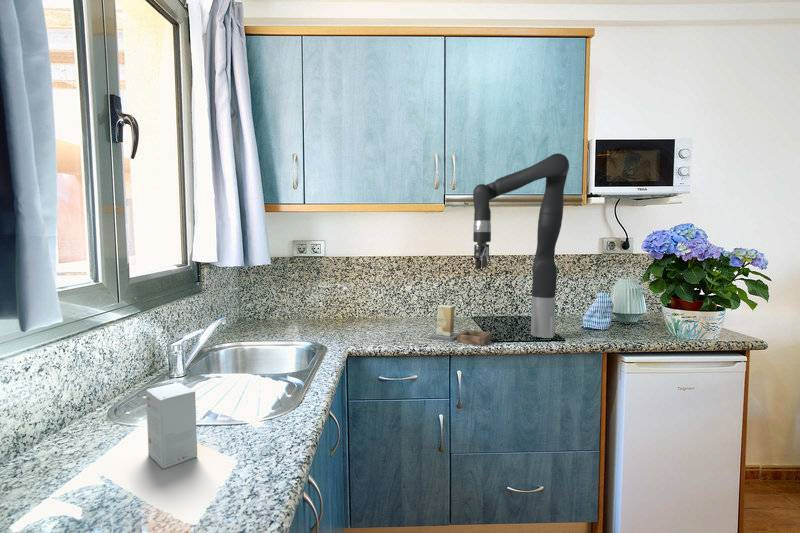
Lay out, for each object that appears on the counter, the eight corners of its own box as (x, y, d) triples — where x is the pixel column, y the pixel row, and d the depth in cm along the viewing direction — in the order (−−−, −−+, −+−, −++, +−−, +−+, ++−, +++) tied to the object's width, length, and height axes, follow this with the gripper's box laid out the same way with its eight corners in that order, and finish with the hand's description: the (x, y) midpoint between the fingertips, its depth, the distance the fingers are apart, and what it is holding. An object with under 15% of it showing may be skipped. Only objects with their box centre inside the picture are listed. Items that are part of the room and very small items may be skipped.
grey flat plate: (460, 335, 184) (460, 333, 184) (452, 341, 175) (452, 338, 175) (438, 333, 189) (438, 331, 189) (429, 338, 180) (429, 335, 180)
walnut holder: (491, 339, 177) (491, 332, 177) (483, 345, 168) (483, 338, 167) (465, 336, 182) (466, 329, 182) (456, 342, 173) (457, 335, 172)
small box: (198, 457, 84) (196, 391, 83) (162, 470, 79) (159, 400, 78) (181, 443, 89) (179, 381, 88) (147, 454, 85) (144, 389, 84)
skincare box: (436, 334, 181) (436, 305, 180) (440, 332, 185) (440, 304, 184) (450, 336, 178) (451, 307, 177) (454, 334, 182) (454, 305, 181)
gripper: (485, 231, 181) (485, 269, 182) (495, 231, 194) (494, 267, 195) (468, 231, 184) (468, 269, 186) (478, 231, 197) (478, 266, 198)
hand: (481, 268), depth 190 cm, fingers open, 8 cm apart
